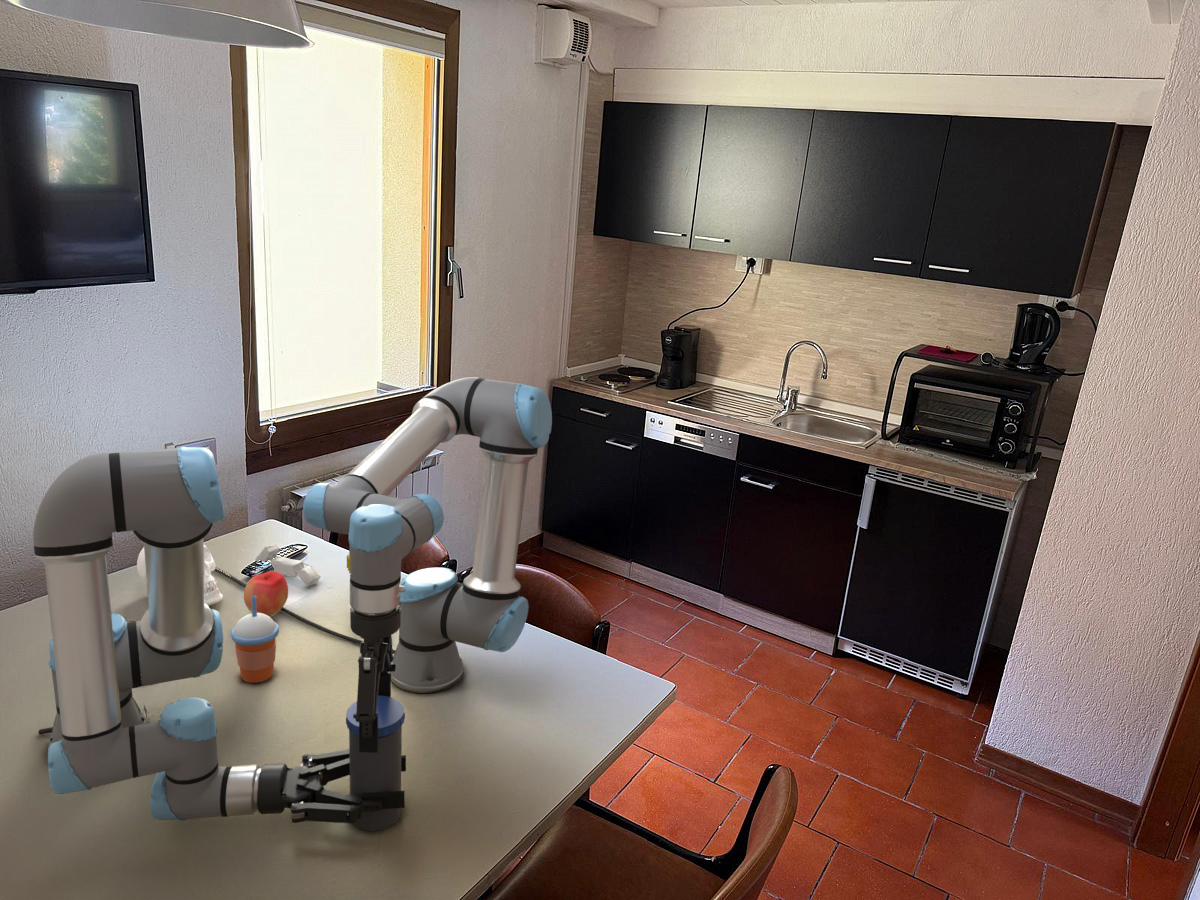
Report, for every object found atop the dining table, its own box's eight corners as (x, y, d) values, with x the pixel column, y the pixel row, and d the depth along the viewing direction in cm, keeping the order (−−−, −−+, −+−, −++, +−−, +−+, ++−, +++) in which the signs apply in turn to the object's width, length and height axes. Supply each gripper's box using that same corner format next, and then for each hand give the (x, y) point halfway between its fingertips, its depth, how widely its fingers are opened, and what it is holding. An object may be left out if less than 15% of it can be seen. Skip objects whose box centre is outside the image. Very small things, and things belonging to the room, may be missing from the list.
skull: (202, 618, 196) (199, 554, 192) (125, 599, 202) (121, 536, 198) (241, 595, 209) (240, 535, 205) (167, 578, 215) (164, 519, 210)
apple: (273, 600, 207) (272, 562, 204) (297, 613, 202) (296, 575, 199) (237, 614, 200) (234, 575, 197) (261, 628, 194) (259, 588, 191)
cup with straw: (264, 690, 172) (261, 610, 167) (223, 682, 173) (219, 602, 168) (289, 667, 180) (286, 590, 175) (250, 659, 182) (246, 583, 177)
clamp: (253, 565, 223) (254, 542, 221) (265, 560, 226) (266, 537, 224) (309, 593, 215) (310, 569, 213) (320, 588, 218) (321, 564, 216)
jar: (344, 829, 138) (342, 729, 132) (357, 794, 146) (356, 698, 140) (394, 832, 138) (395, 732, 133) (405, 797, 146) (406, 702, 140)
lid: (388, 743, 132) (388, 734, 131) (335, 731, 133) (334, 722, 133) (414, 710, 140) (414, 701, 140) (363, 699, 142) (363, 690, 141)
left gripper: (271, 766, 147) (406, 759, 152) (247, 857, 128) (403, 846, 132) (270, 729, 145) (407, 722, 150) (245, 816, 126) (403, 806, 130)
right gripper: (387, 645, 120) (386, 777, 126) (411, 573, 142) (410, 689, 148) (332, 642, 119) (334, 775, 126) (365, 571, 141) (366, 687, 148)
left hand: (405, 780), depth 141 cm, fingers closed on jar, 8 cm apart
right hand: (375, 728), depth 137 cm, fingers open, 10 cm apart
